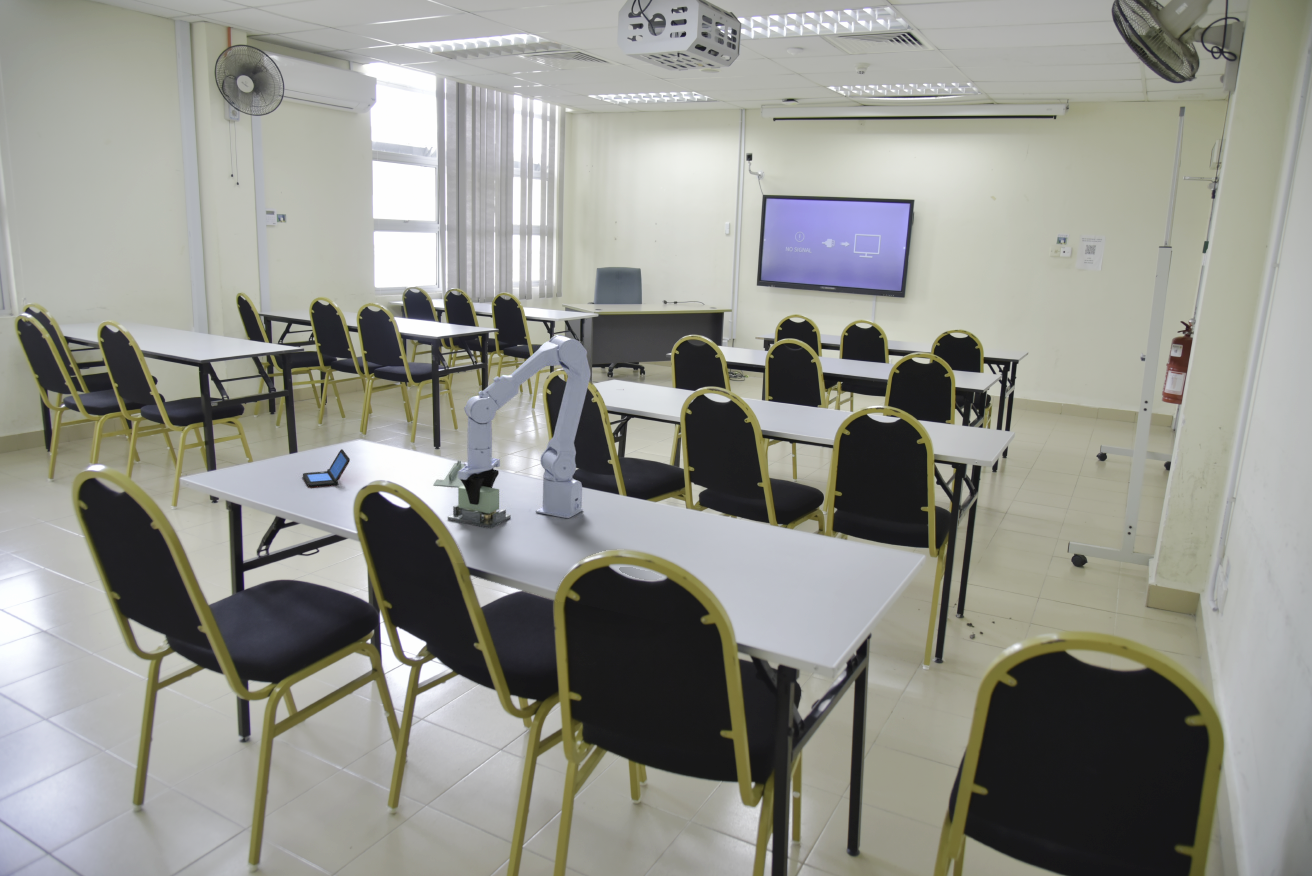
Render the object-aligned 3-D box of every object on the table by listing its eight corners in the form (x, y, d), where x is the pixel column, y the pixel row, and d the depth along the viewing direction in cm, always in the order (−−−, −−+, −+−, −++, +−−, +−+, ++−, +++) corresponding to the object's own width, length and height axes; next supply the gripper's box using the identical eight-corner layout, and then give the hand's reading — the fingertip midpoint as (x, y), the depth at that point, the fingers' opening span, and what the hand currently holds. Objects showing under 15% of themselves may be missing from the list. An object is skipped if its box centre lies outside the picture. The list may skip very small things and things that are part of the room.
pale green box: (499, 509, 207) (499, 487, 206) (489, 513, 204) (489, 491, 202) (468, 503, 211) (468, 482, 209) (458, 507, 207) (458, 485, 206)
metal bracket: (448, 455, 244) (499, 459, 242) (450, 472, 247) (501, 477, 245) (430, 482, 231) (484, 486, 230) (433, 500, 234) (486, 504, 233)
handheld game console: (302, 477, 236) (301, 450, 234) (343, 473, 241) (342, 448, 240) (308, 489, 225) (307, 461, 224) (351, 485, 231) (350, 458, 229)
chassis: (510, 517, 210) (510, 507, 209) (490, 528, 201) (490, 516, 201) (469, 510, 214) (469, 499, 213) (447, 519, 206) (447, 508, 205)
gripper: (482, 438, 212) (482, 491, 215) (447, 450, 199) (447, 506, 202) (507, 442, 209) (506, 496, 212) (472, 454, 196) (472, 511, 199)
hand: (479, 501), depth 207 cm, fingers closed on pale green box, 4 cm apart
